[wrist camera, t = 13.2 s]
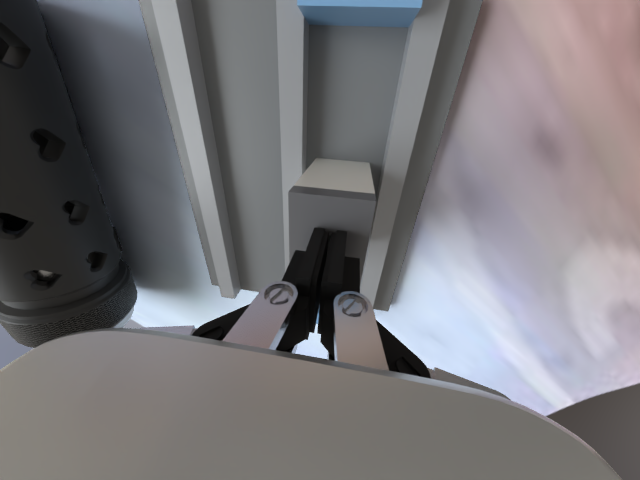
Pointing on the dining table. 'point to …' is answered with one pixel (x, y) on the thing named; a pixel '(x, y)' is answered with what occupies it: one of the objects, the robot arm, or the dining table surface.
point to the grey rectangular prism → (333, 205)
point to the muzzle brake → (50, 200)
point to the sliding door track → (304, 116)
